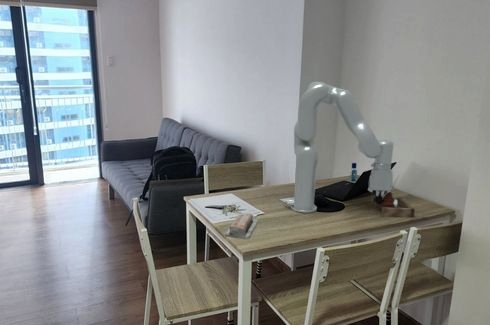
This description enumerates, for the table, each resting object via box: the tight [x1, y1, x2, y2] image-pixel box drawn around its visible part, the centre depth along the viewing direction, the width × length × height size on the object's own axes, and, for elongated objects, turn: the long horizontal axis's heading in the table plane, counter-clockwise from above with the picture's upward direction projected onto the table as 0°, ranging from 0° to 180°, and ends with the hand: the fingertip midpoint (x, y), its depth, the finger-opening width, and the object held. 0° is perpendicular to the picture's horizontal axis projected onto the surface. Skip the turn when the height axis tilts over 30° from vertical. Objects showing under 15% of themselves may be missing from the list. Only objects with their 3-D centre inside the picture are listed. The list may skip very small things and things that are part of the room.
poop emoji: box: [378, 191, 399, 212], centre depth 196 cm, size 10×8×9 cm
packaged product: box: [224, 213, 259, 240], centre depth 169 cm, size 18×5×10 cm
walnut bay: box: [371, 196, 415, 219], centre depth 196 cm, size 14×17×4 cm
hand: (377, 203), depth 195 cm, fingers closed
